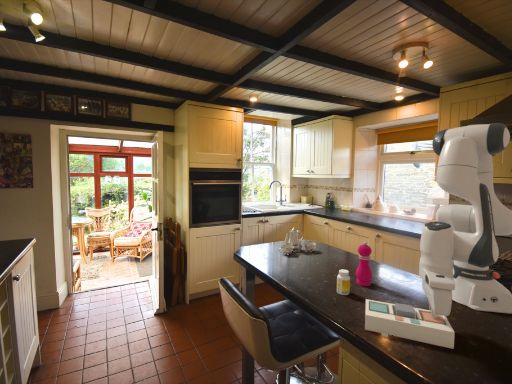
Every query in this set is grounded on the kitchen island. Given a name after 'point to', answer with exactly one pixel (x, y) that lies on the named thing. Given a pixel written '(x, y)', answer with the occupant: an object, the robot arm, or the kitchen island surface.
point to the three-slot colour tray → (409, 326)
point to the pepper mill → (364, 266)
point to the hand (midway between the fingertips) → (433, 314)
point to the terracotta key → (432, 318)
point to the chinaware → (295, 243)
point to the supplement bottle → (343, 282)
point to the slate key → (404, 310)
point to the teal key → (378, 308)
